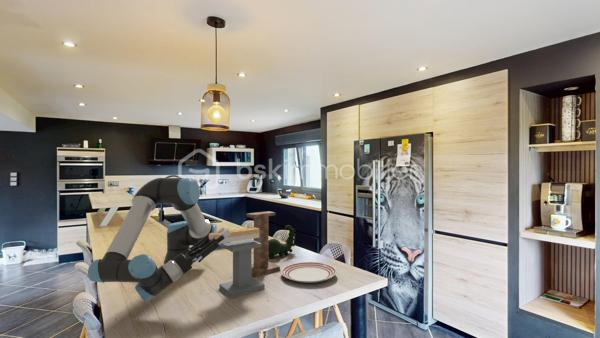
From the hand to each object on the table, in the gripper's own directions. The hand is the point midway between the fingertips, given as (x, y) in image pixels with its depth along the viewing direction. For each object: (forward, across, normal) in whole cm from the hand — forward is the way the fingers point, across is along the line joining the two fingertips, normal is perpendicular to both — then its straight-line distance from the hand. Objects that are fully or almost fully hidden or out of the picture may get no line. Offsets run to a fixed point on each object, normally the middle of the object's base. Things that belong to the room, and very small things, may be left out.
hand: (226, 230), depth 132 cm
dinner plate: (+22, +5, -44) cm, 50 cm away
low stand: (-7, 0, -27) cm, 28 cm away
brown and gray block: (+1, 0, -6) cm, 6 cm away
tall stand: (+10, -16, -36) cm, 41 cm away
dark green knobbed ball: (+29, -32, -48) cm, 65 cm away
